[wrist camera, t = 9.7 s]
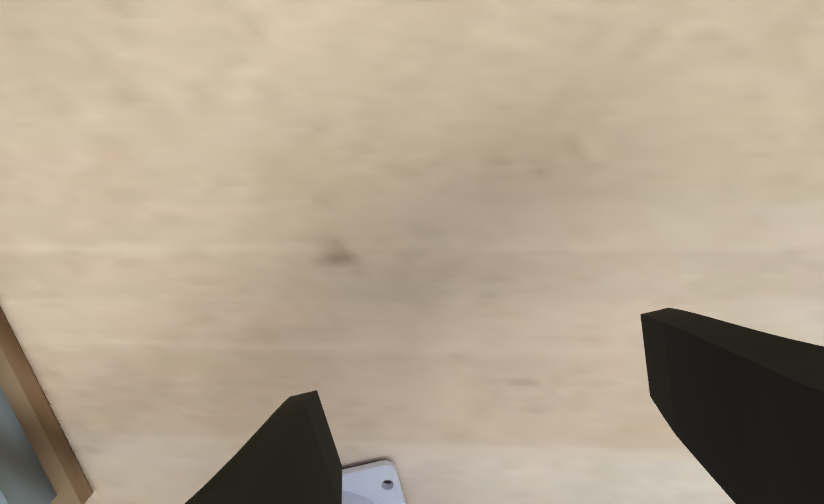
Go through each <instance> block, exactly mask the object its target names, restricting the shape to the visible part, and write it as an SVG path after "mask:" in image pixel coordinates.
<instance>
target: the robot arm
mask: <svg viewBox="0 0 824 504" xmlns="http://www.w3.org/2000/svg"><path fill="white" fill-rule="evenodd" d="M641 322H642V331H643V339H644V348H645V356H646V365H647V373H648V381H649V390H650V396H651V398H652V400H653V401H654V403H655V404H656V406H657V407H658V409H659V411H660V412H661V414H662V415H663V417H664V418H665V420H666V421H667V423H668V424H669V426H670V427H671V429H672V430H673V431H674V433H675V434H676V436H677V437H678V438H679V439H680V440H681V441H682V443H683V444H684V445H685V446H686V447H687V449H688V450H689V451H690V452H691V453H692V454H693V455H694V457H695V458H696V459H697V460H698V461H699V462H700V464H701V465H702V466H703V467H704V468H705V469H706V470H707V472H708V473H709V474H710V475H711V476H712V477H713V478H714V480H715V481H716V482H717V483H718V484H719V485H720V486H721V487H722V489H723V490H724V491H725V492H726V493H727V494H728V495H729V497H730V498H731V499H732V500H733V501H734V502H735V503H736V504H824V347H823V346H818V345H814V344H810V343H805V342H801V341H796V340H792V339H788V338H784V337H780V336H776V335H772V334H768V333H764V332H761V331H757V330H753V329H750V328H746V327H742V326H739V325H735V324H731V323H728V322H724V321H721V320H717V319H714V318H710V317H706V316H703V315H699V314H695V313H691V312H687V311H683V310H678V309H673V308H666V309H662V310H657V311H653V312H649V313H645V314H641ZM385 480H390V481H392V482H391V483H389V484H386V483H384V482H383V481H385ZM185 504H406V501H405V497H404V494H403V490H402V487H401V483H400V480H399V477H398V473H397V470H396V467H395V465H394V464H393V463H392V462H390V461H387V460H384V461H378V462H374V463H369V464H365V465H361V466H356V467H352V468H347V469H343V470H342V465H341V462H340V459H339V456H338V453H337V450H336V447H335V444H334V441H333V438H332V435H331V432H330V429H329V426H328V423H327V420H326V417H325V414H324V410H323V407H322V404H321V401H320V398H319V395H318V392H317V391H312V392H308V393H304V394H300V395H295V396H291V397H289V398H288V399H287V400H286V401H285V402H284V403H283V404H282V405H281V406H280V407H279V408H278V409H277V410H276V411H275V412H274V413H273V414H272V415H271V417H270V418H269V419H268V420H267V421H266V422H265V423H264V424H263V425H262V426H261V428H260V429H259V430H258V431H257V432H256V433H255V434H254V435H253V436H252V437H251V438H250V439H249V441H248V442H247V443H246V444H245V445H244V446H243V447H242V448H241V449H240V450H239V451H238V452H237V454H236V455H235V456H234V457H233V458H232V459H231V460H230V461H229V462H228V463H227V464H226V465H225V466H224V467H223V468H222V469H221V470H220V471H219V472H218V473H217V474H216V475H215V476H214V477H213V478H212V479H211V480H210V481H209V482H208V483H207V484H206V485H205V486H204V487H203V488H201V489H200V490H199V491H198V492H197V493H196V494H195V495H194V496H193V497H192V498H191V499H189V500H188V501H187V502H186V503H185Z"/></svg>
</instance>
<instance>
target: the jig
mask: <svg viewBox="0 0 824 504" xmlns="http://www.w3.org/2000/svg"><path fill="white" fill-rule="evenodd" d="M92 493H93V492H92V490H91V488H90V486H89V484H88V482H87V480H86V478H85V476H84V474H83V472H82V470H81V468H80V466H79V464H78V462H77V460H76V458H75V456H74V454H73V452H72V450H71V448H70V446H69V444H68V442H67V440H66V438H65V436H64V434H63V432H62V430H61V428H60V426H59V424H58V422H57V420H56V418H55V416H54V414H53V412H52V410H51V408H50V406H49V404H48V402H47V400H46V398H45V396H44V394H43V392H42V390H41V388H40V386H39V384H38V382H37V380H36V378H35V376H34V374H33V372H32V370H31V368H30V366H29V364H28V362H27V360H26V358H25V356H24V354H23V352H22V350H21V348H20V346H19V344H18V342H17V340H16V338H15V336H14V334H13V332H12V330H11V328H10V326H9V324H8V322H7V320H6V318H5V316H4V314H3V312H2V310H1V308H0V504H85V502H86V501H87V500H88V498H89V497H90V496H91V494H92Z"/></svg>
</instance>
